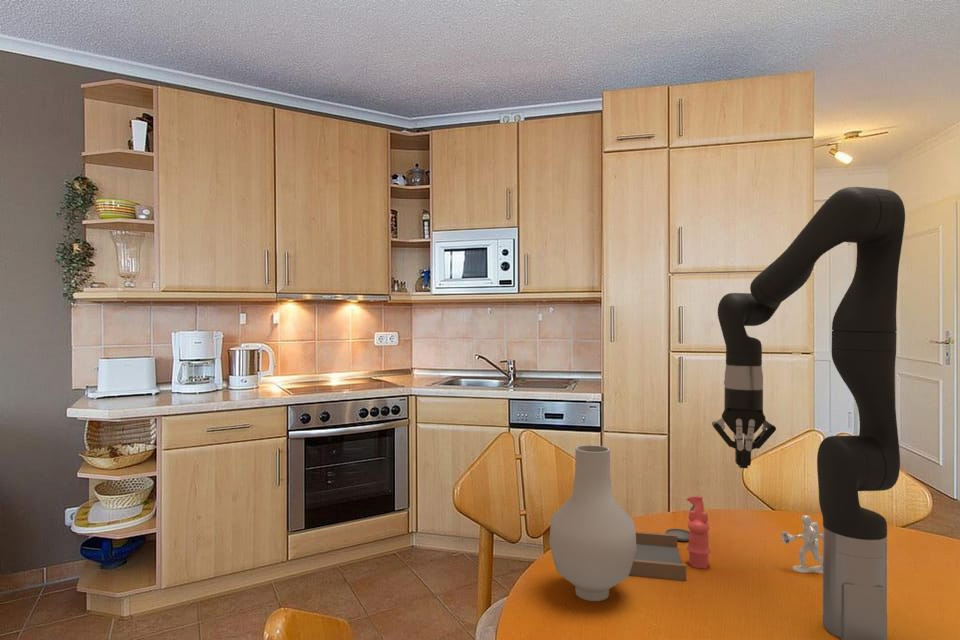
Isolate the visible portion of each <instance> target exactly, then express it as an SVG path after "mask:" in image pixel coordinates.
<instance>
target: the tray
mask: <svg viewBox="0 0 960 640" xmlns="http://www.w3.org/2000/svg"><path fill="white" fill-rule="evenodd" d="M636 547H637V550H636V554H635V557H634V560H633V564H632V567H631V570H630V574H629V576H632V577H640V578H641V577H643V578H654V579H665V580H674V581H683V582H687V564H686V563H682V559H681V557H680V553H679V548H678V540H677V535H673V534H665V533H660V532H659V533H658V532H647V531H645V532H644V531H636Z"/></svg>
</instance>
